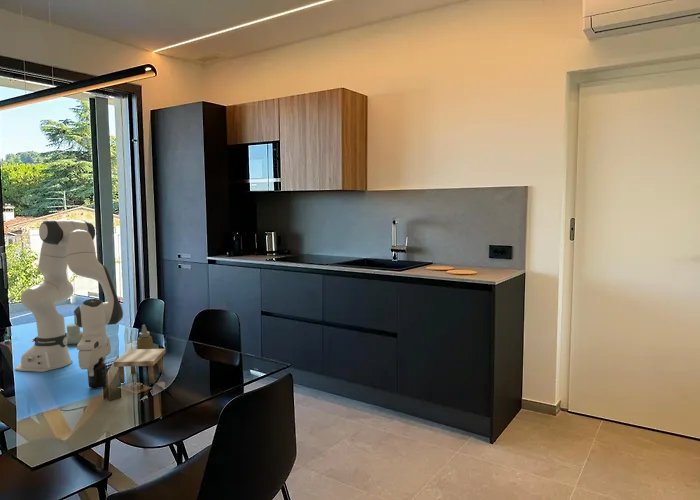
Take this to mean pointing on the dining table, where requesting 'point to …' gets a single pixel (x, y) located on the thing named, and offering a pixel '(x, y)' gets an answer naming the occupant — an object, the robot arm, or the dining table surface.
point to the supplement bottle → (98, 375)
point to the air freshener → (73, 334)
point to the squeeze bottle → (144, 339)
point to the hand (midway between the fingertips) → (96, 371)
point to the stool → (140, 361)
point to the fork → (161, 384)
